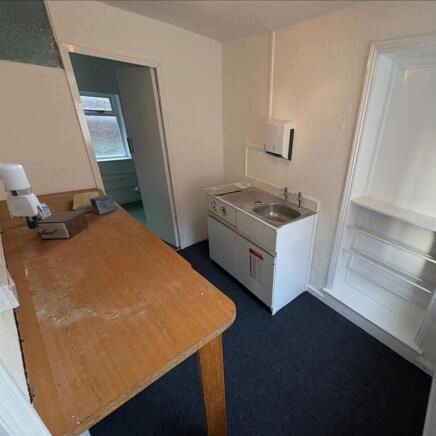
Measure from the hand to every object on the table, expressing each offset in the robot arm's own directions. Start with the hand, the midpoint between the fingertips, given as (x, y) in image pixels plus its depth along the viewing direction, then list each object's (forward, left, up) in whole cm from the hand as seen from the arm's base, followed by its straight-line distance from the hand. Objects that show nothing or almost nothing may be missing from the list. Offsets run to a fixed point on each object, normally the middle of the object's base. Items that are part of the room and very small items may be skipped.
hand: (34, 227), depth 113 cm
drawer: (+8, +4, -7) cm, 12 cm away
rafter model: (+19, +55, -9) cm, 58 cm away
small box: (+28, +32, -9) cm, 43 cm away
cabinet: (+10, +8, -8) cm, 15 cm away
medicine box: (-1, +37, -9) cm, 38 cm away
